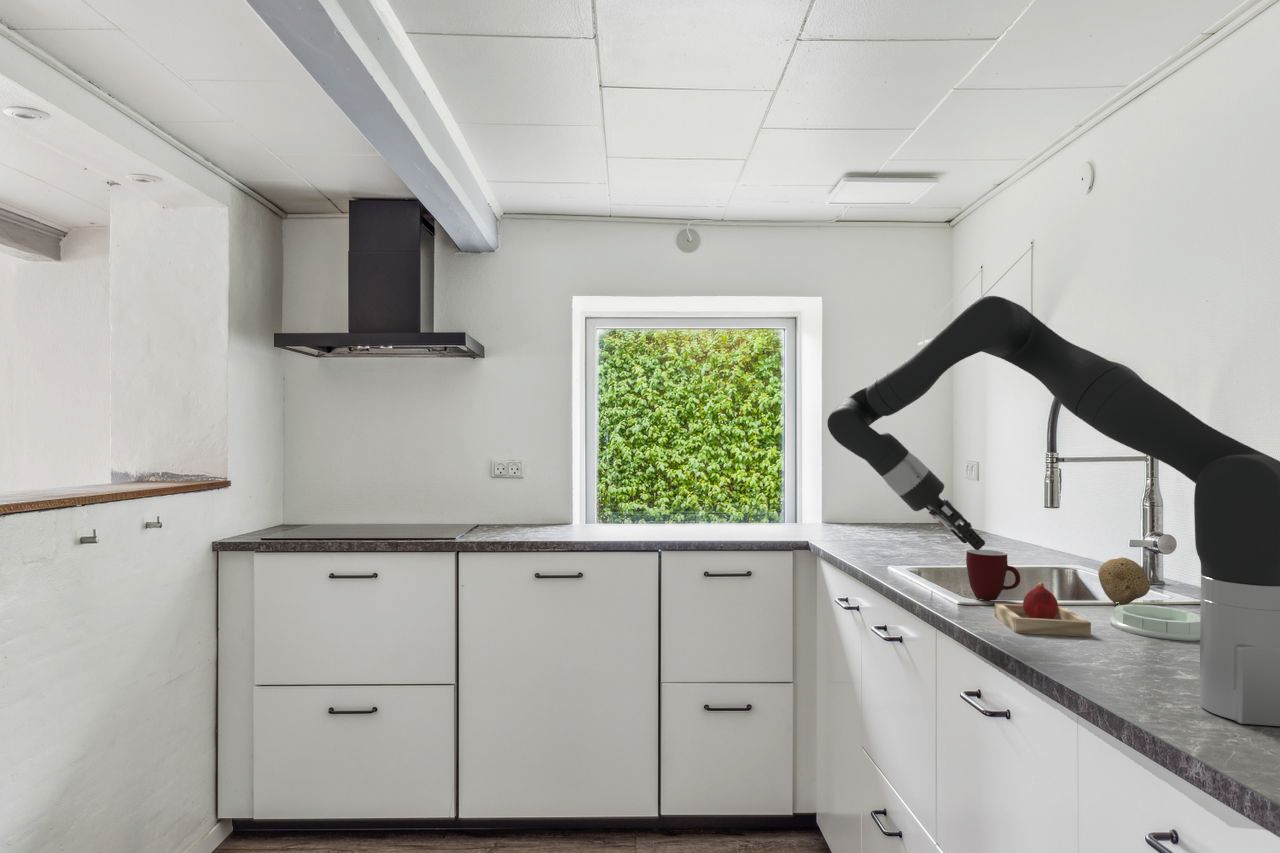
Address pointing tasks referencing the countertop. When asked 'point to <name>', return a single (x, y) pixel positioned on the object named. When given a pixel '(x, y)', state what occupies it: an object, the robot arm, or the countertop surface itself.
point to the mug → (988, 573)
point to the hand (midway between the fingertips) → (974, 543)
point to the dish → (1157, 622)
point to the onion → (1040, 603)
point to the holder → (1042, 621)
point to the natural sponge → (1123, 580)
